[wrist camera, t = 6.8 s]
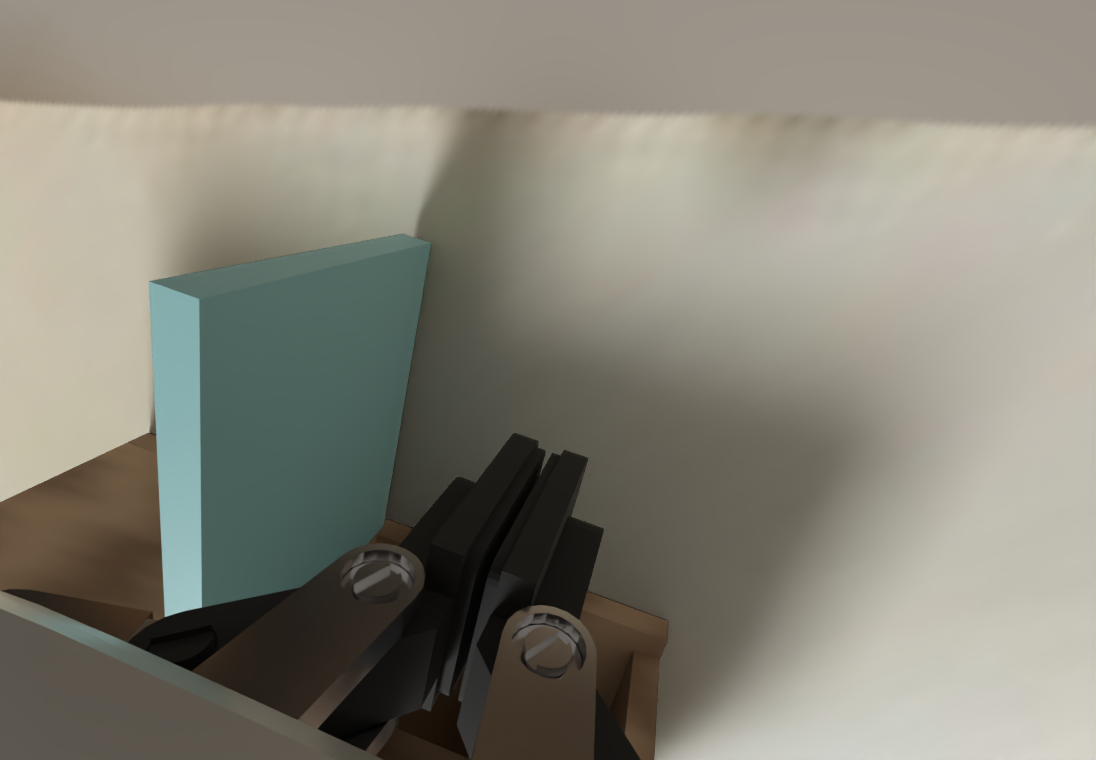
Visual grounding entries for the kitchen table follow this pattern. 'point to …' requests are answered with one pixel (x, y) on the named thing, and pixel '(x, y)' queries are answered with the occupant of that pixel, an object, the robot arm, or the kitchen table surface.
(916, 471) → the kitchen table surface
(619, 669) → the cabinet
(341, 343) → the door
